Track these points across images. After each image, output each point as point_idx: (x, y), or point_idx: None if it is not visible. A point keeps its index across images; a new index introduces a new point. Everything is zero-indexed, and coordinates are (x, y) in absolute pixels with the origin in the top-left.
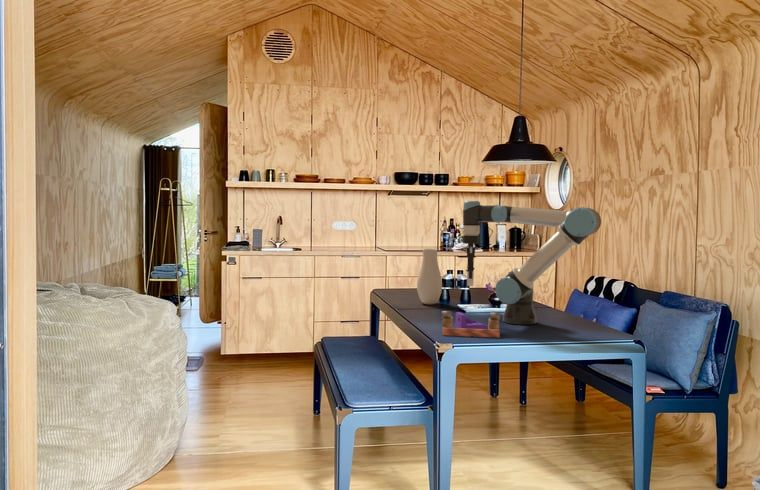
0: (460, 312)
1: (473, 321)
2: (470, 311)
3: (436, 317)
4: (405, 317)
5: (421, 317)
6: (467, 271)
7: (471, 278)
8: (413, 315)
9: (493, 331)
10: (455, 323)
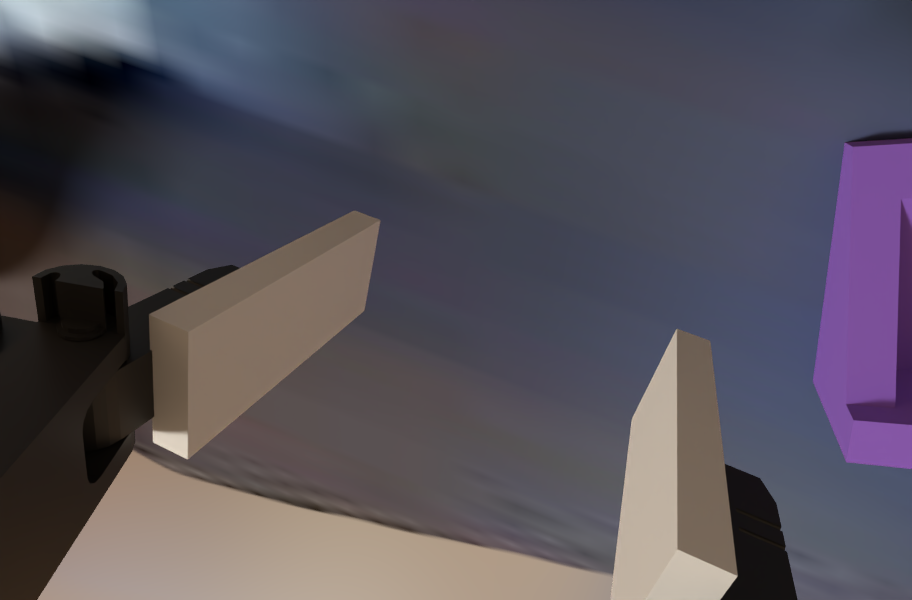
0: (872, 422)
1: (896, 255)
2: (117, 9)
3: (382, 355)
4: (383, 519)
5: (382, 441)
6: (216, 428)
7: (754, 494)
8: (317, 455)
9: None
10: (820, 398)
